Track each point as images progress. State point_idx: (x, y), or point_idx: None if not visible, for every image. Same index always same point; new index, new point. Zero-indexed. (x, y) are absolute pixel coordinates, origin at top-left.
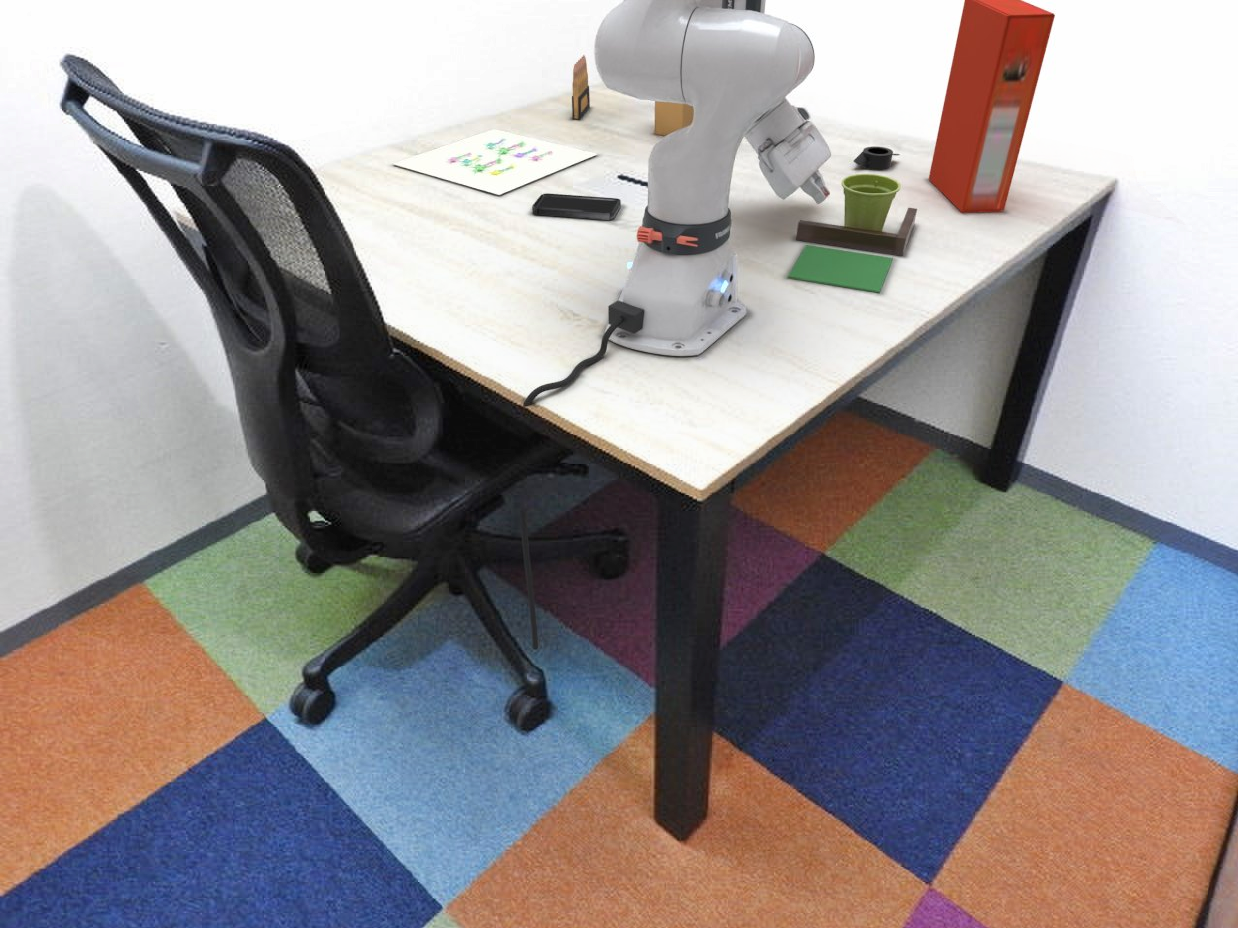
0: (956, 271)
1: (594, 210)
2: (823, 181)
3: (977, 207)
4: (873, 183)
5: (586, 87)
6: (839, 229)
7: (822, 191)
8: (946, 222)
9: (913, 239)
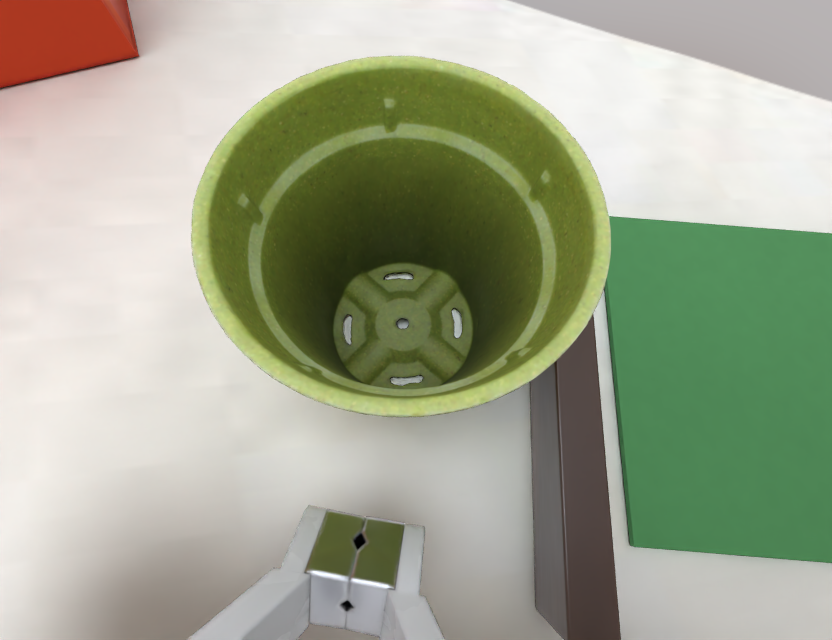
0: (593, 73)
1: None
2: (253, 598)
3: (120, 9)
4: (242, 223)
5: None
6: (599, 399)
7: (391, 569)
8: (226, 92)
9: None
